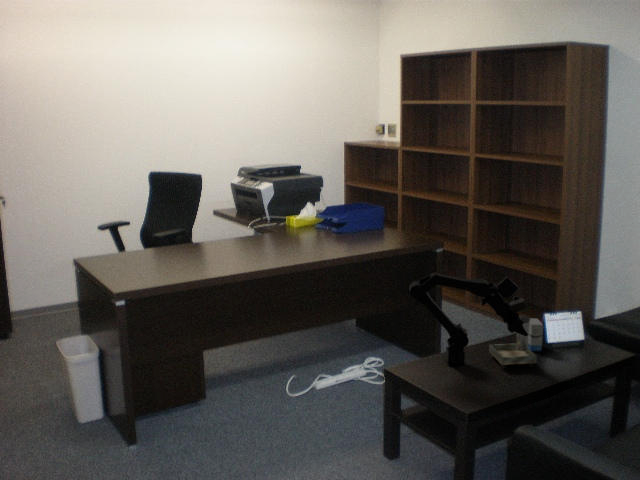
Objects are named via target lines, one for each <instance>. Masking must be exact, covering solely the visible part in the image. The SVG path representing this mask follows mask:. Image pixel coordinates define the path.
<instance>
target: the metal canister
mask: <svg viewBox="0 0 640 480" xmlns="http://www.w3.org/2000/svg"><path fill="white" fill-rule="evenodd" d="M518 317H520V318H521V319H522V320H523V322H524V324H523V325H522V326H523V327H524V329H525V330H526V332H527V333H529V322H530V318H531V317H529V316H527V315H519V316H518ZM515 337H516V338H515V343H516V350H518V351H527V348H528V347H527V346H528V336H524V335H521V334H519V333H516V336H515Z"/></svg>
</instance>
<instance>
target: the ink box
mask: <svg viewBox="0 0 640 480" xmlns="http://www.w3.org/2000/svg"><path fill="white" fill-rule="evenodd" d="M529 318H530V322H529V333H528V346H527V348H528V349H529V350H530V351H532V352H542V351H543V350H542V349H543V334H544V324H543V323H542V322H541V321H540V320H539V319H538V318H536V317H535V318H533V317H532V318H531V317H529Z"/></svg>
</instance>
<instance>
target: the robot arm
mask: <svg viewBox="0 0 640 480" xmlns="http://www.w3.org/2000/svg"><path fill="white" fill-rule="evenodd" d="M437 285H438V286H443V287H447V288H452V289H458V290H464V291H467V292H469V293H471V294H472V295H475V296H478V297H480V304H481V306H485V305H486V304H487V306H489V307H490V308H491V309H492V310H493V312H494V313H495V315H497V316H498V317H499V318H501V320H502V322H504V324H506V328H507V331H509V333H511V334H512V333H516V334H517V333H519V334H521V335H524V336H528V333H527V332H526V330H525V329H524V327H523V326H522V325H523V324H524V322H523V320H522V319H521V318H520V317H518V316H520V313H519V312H520V311H522V310H527V309H528V306H527V305H528V304H527V303H526V301H525V298H524V297H519V295H515V296H513V295H514V294H515V293H516V292H517V291H519V290H520V287H519V285H517V284H516V282H514V281H513V279H511V278H509V277H508V276H507V275H506V276H504V278H503V279H502V280H501V281H499V282H498V283H494V282H489V281H488V280H486V279H484V278H469V279H467V278H461V277H457V276H452V275H447V274H442V273H439V272H432V273H430V275H427V276H425V277H423V278H420V279H419V280H414V281H413V282H411V283H409V295H410V297H411V298H412V299H414V300H415V301H416V302H418V303H419V304H421V305H422V306H424V307H425V308H426V309H427V311H428V312H429V313H430V314H431V315H432V317H434V318H435V319H436V321H438V323H439V324H440V325H441V326H442V328H444V330H446V332H447V334H448V336H449V337H448V338H447V339H446V342H447V346H446V349H445V350H446V351H445V359H444V361H445V363H446V364H447V366H448V367H463V366H465V365H466V364H465V361H466V360H465V359H466V357H465V356H466V352H465V348H466V347H467V346H468V345H469V341H470V340H469V337H468V336H469V335H468V331H467V329H466V328H464V327H463V325H462V324H461V322H459V323H458V324H456V323H455V322H453V321H452V320H451V318H450V317H449V316H448V315H447V314H446V312H444V310H442V309H441V307H440V306H439V305H438V304H437V303H436V302H435V301H434V300H433V298H432V297H431V295H430V294H429V291H431V290H432V289H433V288H434V287H436V286H437ZM512 296H513V297H512ZM510 297H512V300H511V301H510V302H508V300H505V299H504V298H506V299H507V298H508V299H509V298H510Z"/></svg>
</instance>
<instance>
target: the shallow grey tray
mask: <svg viewBox="0 0 640 480" xmlns="http://www.w3.org/2000/svg"><path fill="white" fill-rule="evenodd" d="M488 346H489V347H488V351H489V353H490V354H491V358H492V359H496V360H497V361H498V363H499V364H500V365H501V369H507V366H508V365H526V364H528V368H533V367H534V364H537V355H536V354H535V353H534V351H530V350H529V349H528V347H527V351H518V350H516V342H514V343H498V344H497V343H495V344H488Z"/></svg>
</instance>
